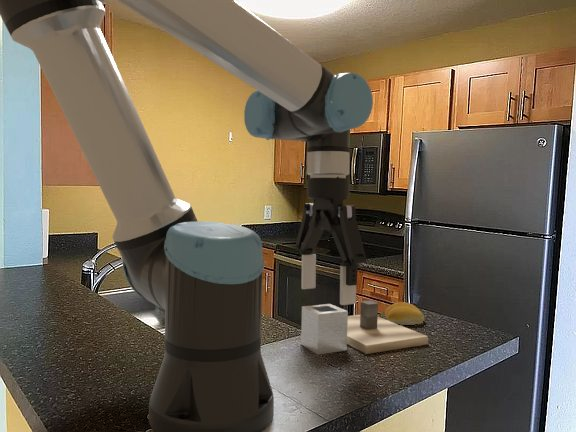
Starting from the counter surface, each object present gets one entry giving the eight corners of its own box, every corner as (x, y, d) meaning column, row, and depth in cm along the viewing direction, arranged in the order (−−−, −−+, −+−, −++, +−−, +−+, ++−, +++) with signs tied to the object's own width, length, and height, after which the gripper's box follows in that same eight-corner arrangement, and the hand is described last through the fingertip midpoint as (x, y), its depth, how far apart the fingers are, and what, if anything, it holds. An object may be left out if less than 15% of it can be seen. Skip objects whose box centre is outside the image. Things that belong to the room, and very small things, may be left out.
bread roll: (388, 326, 101) (389, 308, 101) (383, 316, 110) (383, 298, 109) (428, 328, 100) (429, 309, 100) (419, 317, 109) (420, 300, 109)
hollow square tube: (346, 350, 84) (347, 311, 84) (317, 354, 81) (318, 314, 81) (329, 340, 89) (330, 303, 89) (301, 344, 87) (301, 306, 86)
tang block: (427, 344, 88) (429, 309, 88) (366, 354, 82) (367, 317, 82) (370, 320, 105) (370, 291, 104) (314, 326, 98) (315, 295, 98)
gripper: (390, 176, 74) (387, 309, 76) (312, 178, 97) (311, 281, 98) (349, 175, 71) (347, 314, 72) (279, 177, 93) (278, 284, 95)
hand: (326, 295), depth 85 cm, fingers open, 13 cm apart
